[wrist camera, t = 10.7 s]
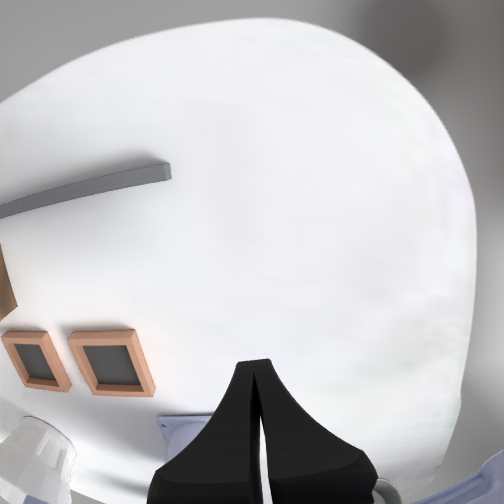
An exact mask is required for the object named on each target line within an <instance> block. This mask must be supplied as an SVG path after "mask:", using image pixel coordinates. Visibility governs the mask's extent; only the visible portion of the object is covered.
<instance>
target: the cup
mask: <svg viewBox="0 0 504 504" xmlns="http://www.w3.org/2000/svg"><path fill="white" fill-rule="evenodd" d="M75 458H76V450H75V449H74V447H73V445H72V444H71V442H70V441H69V440H68V439H67V438H66V437H65V436H64V435H63V434H62V433H60V432H59V431H58V430H56V429H55V428H54V427H52V426H51V425H49V424H47V423H45V422H43V421H41V420H39V419H36V418H33V417H24V418H23V419H22V421H21V422H20V424H19V425H18V427H17V428H16V429H15V430H14V431H13V432H12V433H11V434H10V435H9V436H8V437H7V438H6V439H5V440H4V441H3V442H2V443H0V496H1V497H2V498H4V499H5V500H6V501H8V502H9V503H11V504H23V502H24V500H25V498H26V495H30V496H32V497H35V498H37V499H40V500H43V501H45V502H47V503H49V504H71V501H72V500H71V495H70V484H71V477H72V471H73V465H74V461H75Z"/></svg>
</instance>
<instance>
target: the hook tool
mask: <svg viewBox="0 0 504 504" xmlns="http://www.w3.org/2000/svg"><path fill="white" fill-rule="evenodd" d="M169 179H172V177H171V170H170V163H168V164H160V165H155V166H149V167H144V168H139V169H134V170H129V171H124V172H120V173H115V174H111V175H106V176H102V177H98V178H93V179H89V180H85V181H81V182H77V183H73V184H70V185H66V186H62V187H58V188H55V189H51V190H48V191H44V192H41V193H37V194H34V195H31V196H27V197H24V198H21V199H18V200H15V201H12V202H9V203H6V204H3V205H0V219H1V218H5V217H8V216H11V215H15V214H18V213H22V212H25V211H29V210H33V209H36V208H40V207H44V206H48V205H51V204H55V203H59V202H63V201H68V200H72V199H76V198H80V197H85V196H89V195H94V194H98V193H103V192H107V191H112V190H117V189H122V188H127V187H132V186H138V185H143V184H149V183H154V182H160V181H166V180H169Z"/></svg>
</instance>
